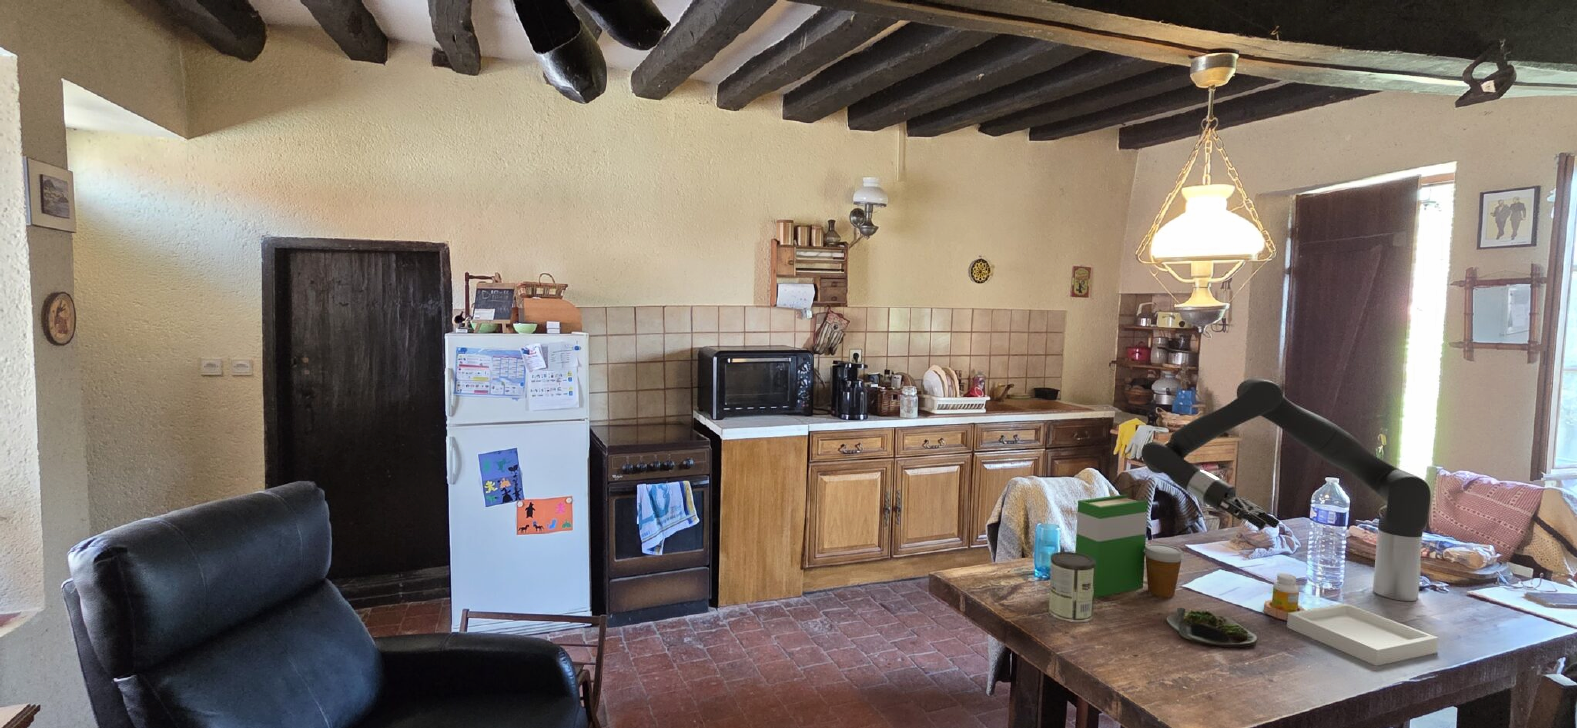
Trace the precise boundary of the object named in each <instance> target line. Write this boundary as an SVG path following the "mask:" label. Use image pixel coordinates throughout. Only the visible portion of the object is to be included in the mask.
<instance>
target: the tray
mask: <svg viewBox="0 0 1577 728" xmlns="http://www.w3.org/2000/svg"><path fill="white" fill-rule="evenodd" d="M1286 621H1287V622H1286V628H1288V629H1290V630H1292V631H1295V632H1297V633H1299V634H1302V635H1304V636H1306V637H1308V638H1311V639H1313V640H1315V641H1317V642H1320V643H1323V644H1325V645H1327V646H1330V647H1332V648H1334V649H1336V650H1339V651H1341V652H1344V653H1346V654H1348V655H1350V656H1353V657H1355V658H1357V659H1359V660H1362V661H1363V662H1366V663H1369V664H1371V663H1372V664H1371V665H1373V666H1376V667H1377V666H1382V665H1387V664H1391V663H1395V662H1401V661H1405V660H1411V659H1415V658H1419V657H1424V656H1429V655H1434V654H1437V653H1438V652H1439V651H1438V649H1439V637H1438V636H1435V635H1433V634H1429V633H1427V632H1425V631H1422V630H1419V629H1416V628H1414V627H1411V626H1408V625H1406V624H1404V623H1400V622H1397V621H1396V620H1392V619H1390V618H1387V617H1385V616H1381V615H1379V614H1376V613H1373V612H1371V611H1368V610H1365V609H1363V608H1360V607H1358V606H1355V605H1352V604H1349V603H1348V602H1347V603H1346V602H1345V603H1340V604H1333V605H1327V606H1324V607H1323V606H1322V607H1316V608H1310V609H1305V610H1303V611H1297V612H1292V613H1288V620H1286ZM1433 653H1434V654H1433ZM1386 663H1387V664H1386Z"/></svg>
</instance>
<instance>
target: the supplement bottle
mask: <svg viewBox="0 0 1577 728" xmlns="http://www.w3.org/2000/svg"><path fill="white" fill-rule="evenodd" d="M1276 579H1277V581H1276V582H1274V583H1273V585H1272V599H1271V600H1272V607H1273V608H1276V609H1278V610H1282V611H1286V612H1297V611H1298V606H1299V597H1300V588H1299V586H1297V576H1296V575H1293V574H1290V573H1289V574H1288V573H1283V572H1282V573H1281V572H1279V573H1277V576H1276Z"/></svg>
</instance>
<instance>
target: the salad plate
mask: <svg viewBox="0 0 1577 728" xmlns="http://www.w3.org/2000/svg"><path fill="white" fill-rule="evenodd" d="M1166 617H1167V618H1166V621H1167V623H1168V624H1169V626H1171V627H1172V628H1173V629H1174V630H1175V631H1176V632H1178V633H1179V636H1180V637H1182V638H1184V639H1186V640H1187V641H1188V642H1190V643H1193V644H1196V645H1199V646H1203V647H1206V648H1213V649H1226V650H1227V649H1228V650H1229V649H1231V650H1233V649H1234V650H1241V649H1242V650H1243V649H1249V648H1252V647H1254V646H1255V645H1256V644H1257V642H1258V636H1257V635H1256V634H1255V633H1253V632H1252V631H1249V630H1248V629H1246V628H1245V627H1243V626H1242V625H1241V624H1240V623H1237V622H1236V621H1235V620H1233V619H1231V618H1229V617H1226V616H1222V615H1219V614H1213V613H1211V612H1210V611H1209V610H1195V608H1191V610H1190V611H1189V612H1187V611H1186V608H1184V607H1178V608H1177V613H1173V614H1170V615H1168V616H1166Z"/></svg>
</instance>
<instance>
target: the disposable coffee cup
mask: <svg viewBox="0 0 1577 728" xmlns="http://www.w3.org/2000/svg"><path fill="white" fill-rule="evenodd" d="M1144 553H1145V566H1146V567H1145V568H1146V582H1147V591H1148V593H1150V594H1151V595H1154V596H1156V597H1160V598H1172V597H1174V596H1175V593H1176V589H1177V584H1178V578H1179V575H1180V574H1179V573H1180V570H1181V569H1180V568H1181V564H1182V561H1183V559H1184V558H1185V557H1184V556H1185V555H1184V554H1183V551H1182V549H1180V548H1178V547H1175V546H1172V545H1170V544H1163V543H1149V544H1146V545H1145V549H1144Z"/></svg>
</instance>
